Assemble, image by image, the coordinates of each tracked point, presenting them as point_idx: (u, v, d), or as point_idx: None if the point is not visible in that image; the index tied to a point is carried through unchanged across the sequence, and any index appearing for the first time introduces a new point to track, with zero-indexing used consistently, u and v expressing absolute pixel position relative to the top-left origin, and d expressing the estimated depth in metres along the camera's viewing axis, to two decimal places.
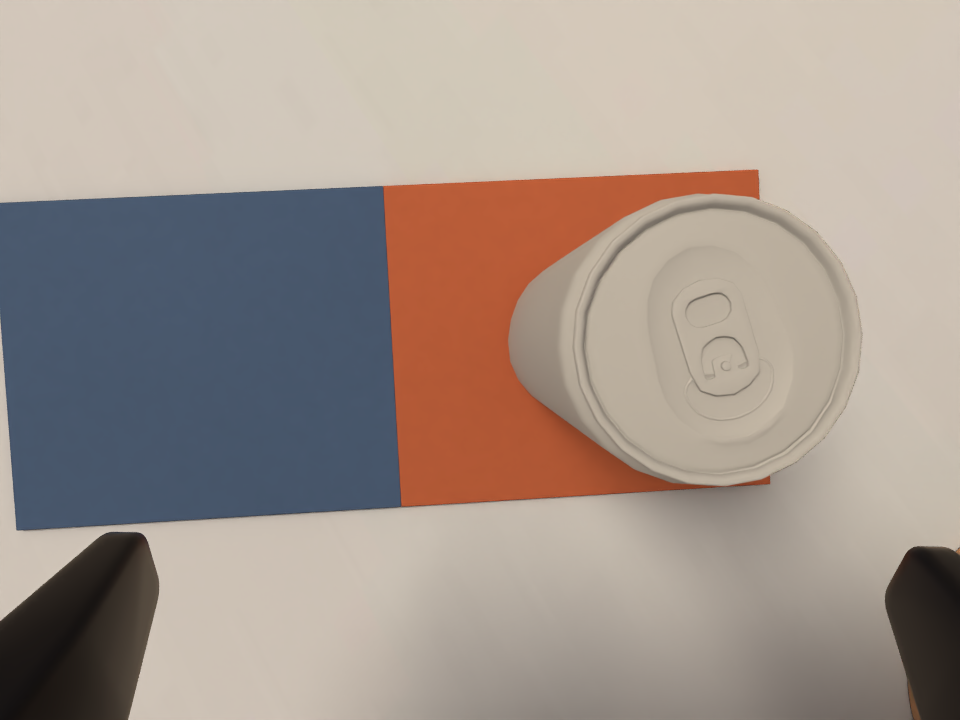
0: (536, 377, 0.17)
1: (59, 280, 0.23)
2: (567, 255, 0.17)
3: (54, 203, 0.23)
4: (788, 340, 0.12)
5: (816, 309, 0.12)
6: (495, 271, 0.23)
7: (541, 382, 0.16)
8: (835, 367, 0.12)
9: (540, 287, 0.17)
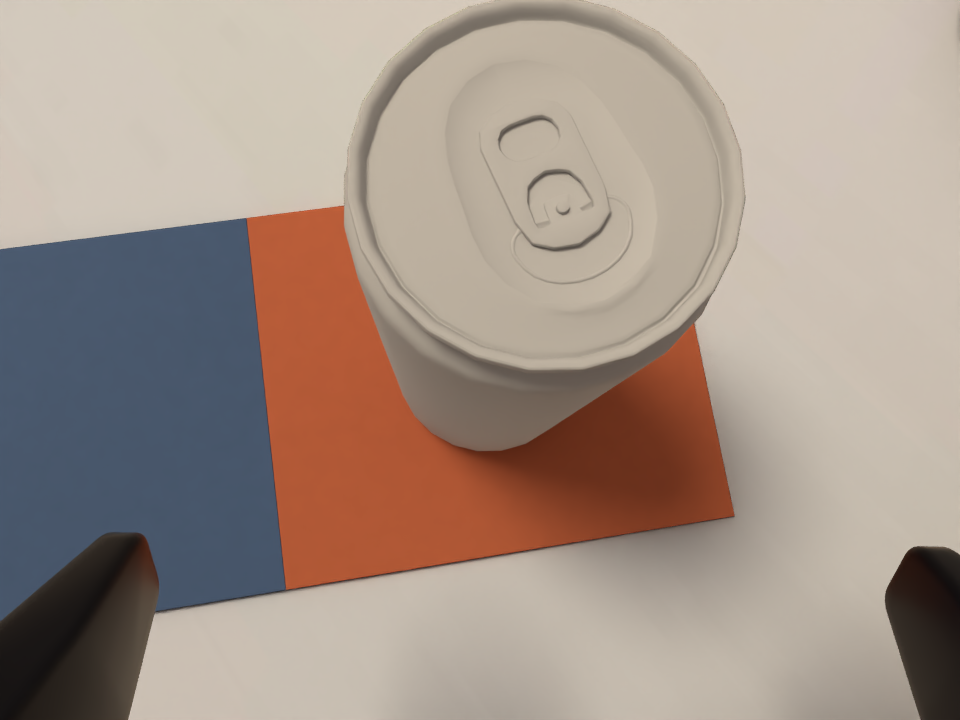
0: (387, 351, 0.13)
1: None
2: None
3: None
4: (643, 168, 0.09)
5: (675, 128, 0.09)
6: None
7: (386, 348, 0.12)
8: (714, 200, 0.09)
9: None
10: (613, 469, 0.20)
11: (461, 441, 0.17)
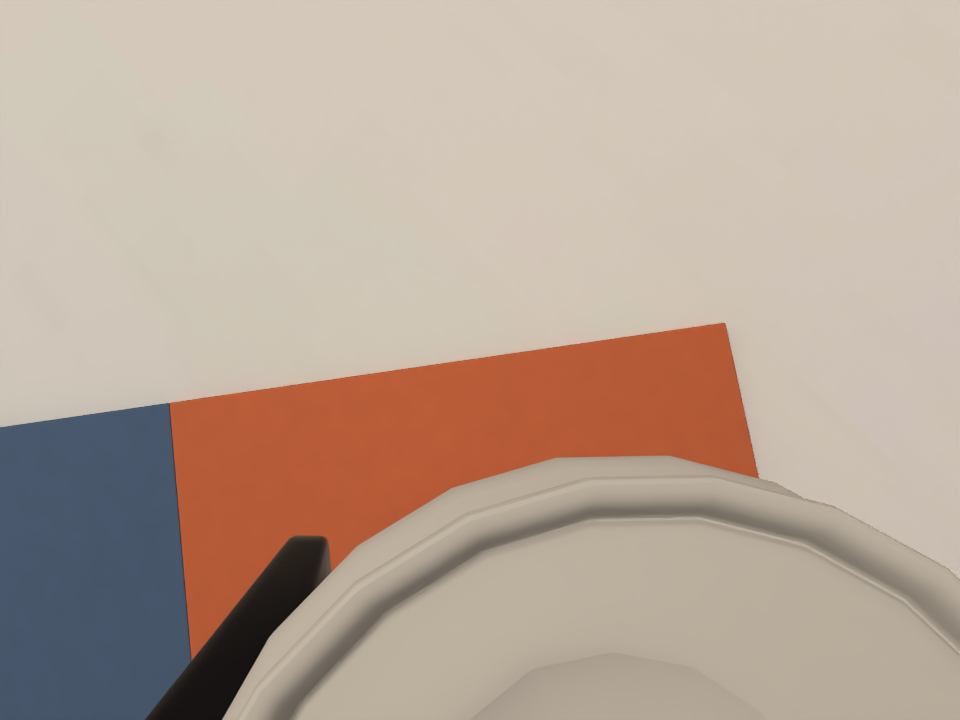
0: None
1: None
2: None
3: None
4: None
5: None
6: (349, 515, 0.15)
7: None
8: None
9: None
10: None
11: None
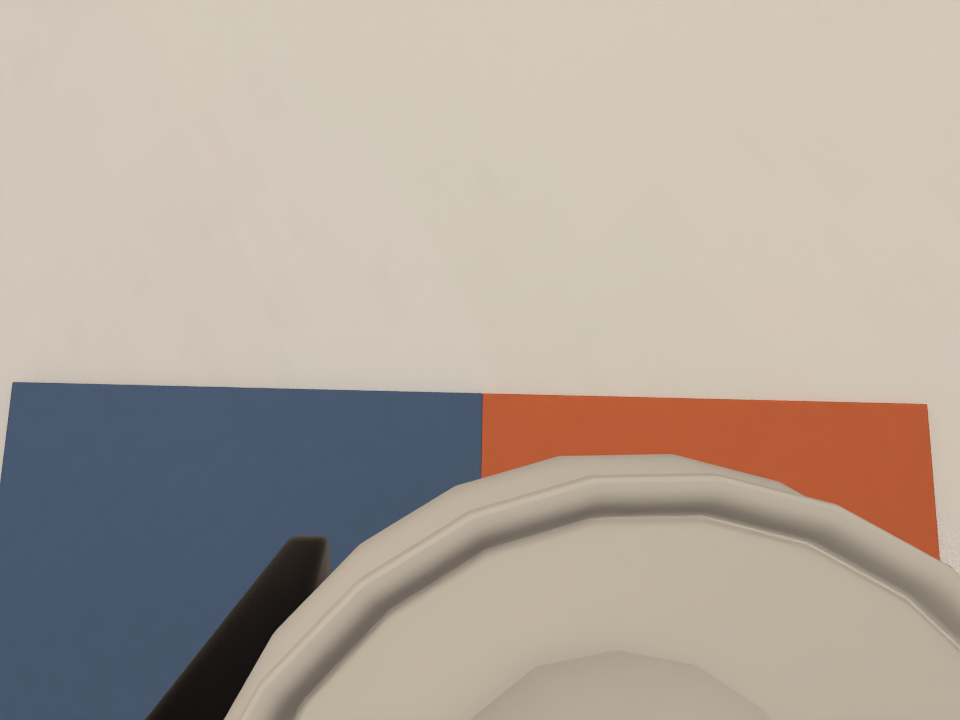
0: None
1: (77, 481, 0.18)
2: None
3: (87, 387, 0.19)
4: None
5: None
6: None
7: None
8: None
9: None
10: None
11: None
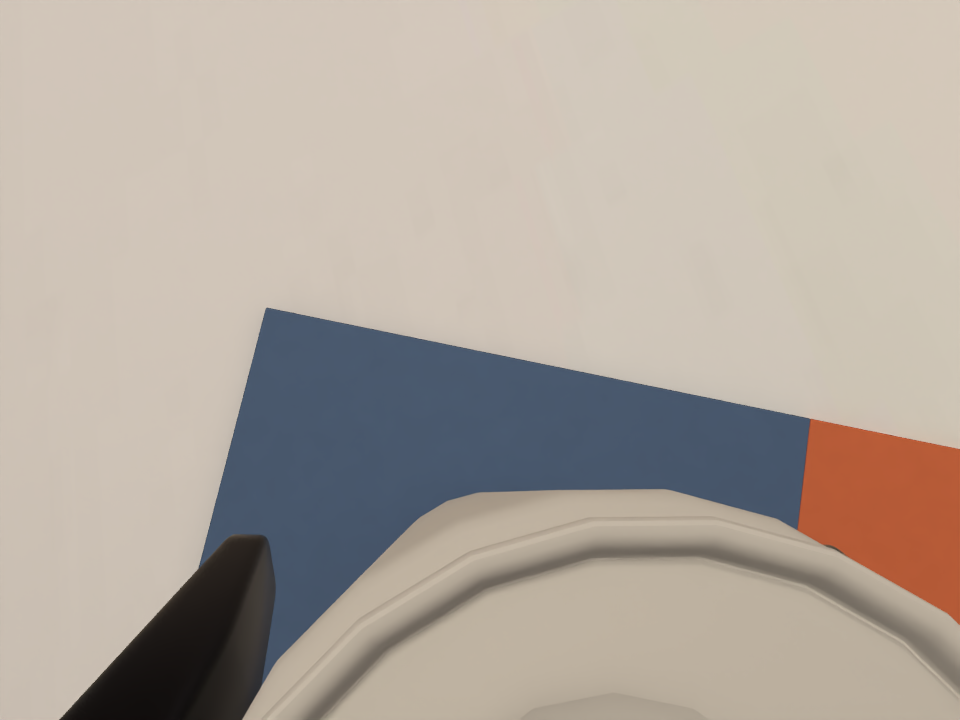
0: None
1: (324, 437, 0.15)
2: None
3: (351, 329, 0.16)
4: None
5: None
6: (952, 582, 0.15)
7: None
8: None
9: None
10: None
11: None
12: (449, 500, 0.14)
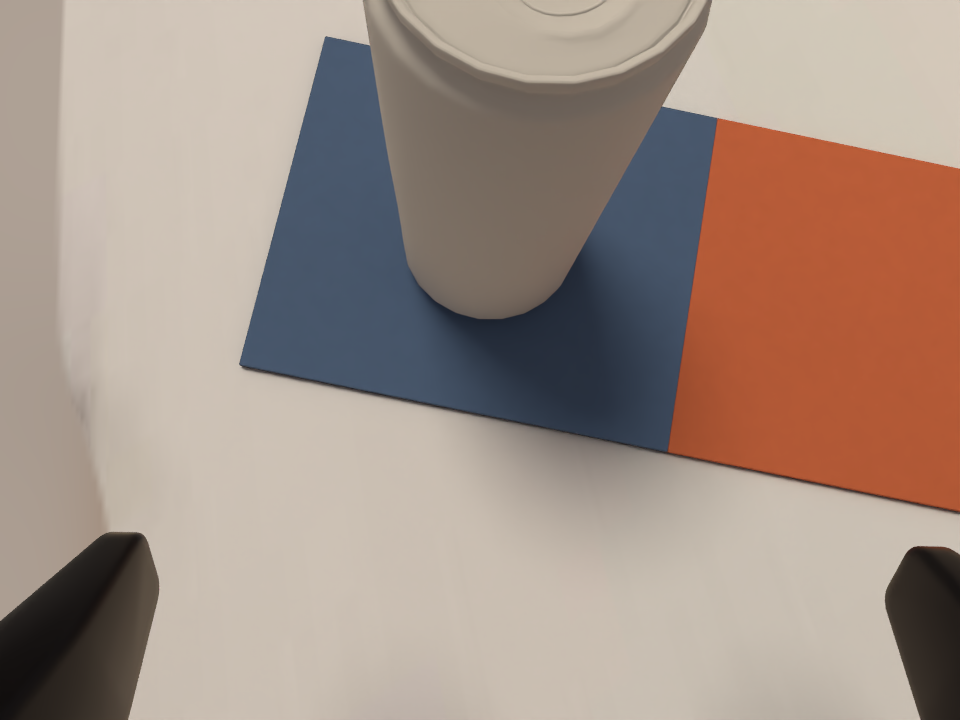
0: (395, 167, 0.14)
1: (368, 123, 0.22)
2: None
3: None
4: None
5: None
6: (817, 229, 0.22)
7: (395, 156, 0.13)
8: None
9: None
10: None
11: (463, 296, 0.18)
12: None
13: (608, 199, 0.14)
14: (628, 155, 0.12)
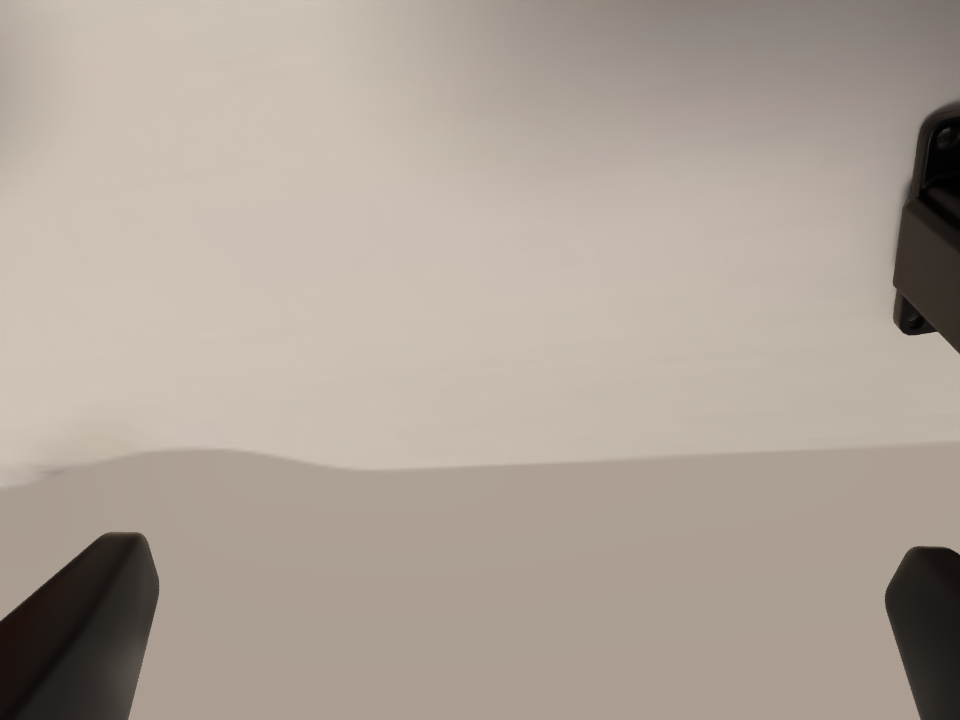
0: None
1: None
2: None
3: None
4: None
5: None
6: None
7: None
8: None
9: None
10: None
11: None
12: None
13: None
14: None
